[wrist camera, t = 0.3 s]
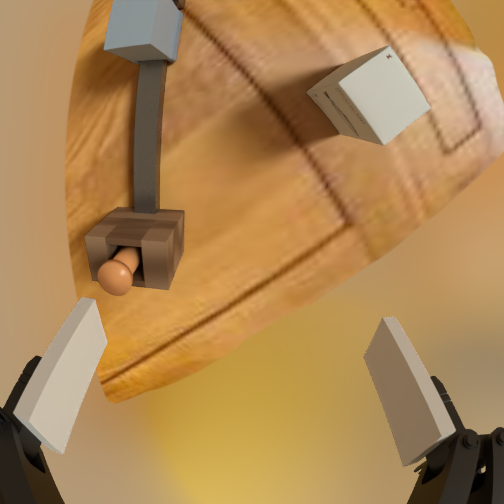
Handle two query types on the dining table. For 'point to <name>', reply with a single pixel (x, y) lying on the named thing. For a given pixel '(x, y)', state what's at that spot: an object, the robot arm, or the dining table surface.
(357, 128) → the supplement box
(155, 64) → the rail
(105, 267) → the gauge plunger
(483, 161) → the dining table surface
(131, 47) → the block
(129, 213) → the end block
